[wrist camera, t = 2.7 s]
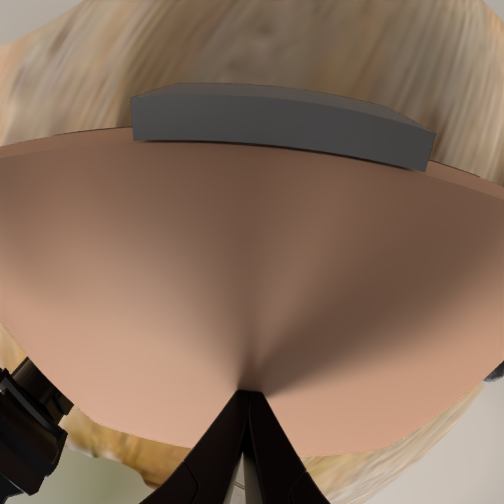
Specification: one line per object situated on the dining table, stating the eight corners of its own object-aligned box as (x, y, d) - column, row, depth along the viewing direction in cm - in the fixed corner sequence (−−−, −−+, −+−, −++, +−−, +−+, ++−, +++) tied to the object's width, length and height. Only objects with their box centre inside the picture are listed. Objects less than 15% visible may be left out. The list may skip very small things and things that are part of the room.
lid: (103, 403, 16) (96, 425, 15) (-37, 132, 5) (-78, 159, 3) (380, 428, 16) (383, 451, 15) (567, 192, 4) (600, 225, 3)
